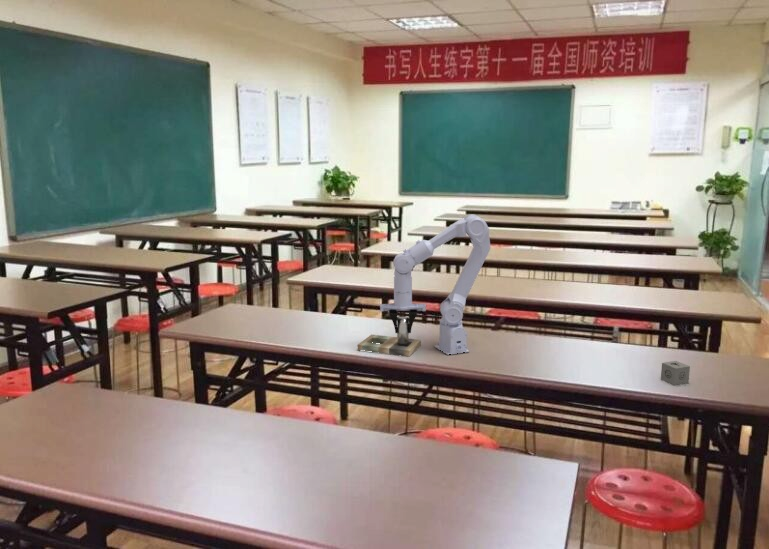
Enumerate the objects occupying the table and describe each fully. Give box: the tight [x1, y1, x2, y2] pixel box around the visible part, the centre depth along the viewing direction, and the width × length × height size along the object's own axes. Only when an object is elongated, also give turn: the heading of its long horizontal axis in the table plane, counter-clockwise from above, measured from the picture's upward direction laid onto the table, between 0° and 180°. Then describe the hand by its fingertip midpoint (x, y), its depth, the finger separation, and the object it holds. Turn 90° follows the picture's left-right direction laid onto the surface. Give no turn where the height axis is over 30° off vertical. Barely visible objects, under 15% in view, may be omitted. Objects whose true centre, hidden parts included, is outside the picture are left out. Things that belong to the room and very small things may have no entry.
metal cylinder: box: [396, 316, 410, 344], centre depth 201 cm, size 4×4×8 cm
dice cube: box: [660, 360, 691, 386], centre depth 174 cm, size 5×5×5 cm
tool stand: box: [357, 334, 422, 358], centre depth 204 cm, size 18×12×2 cm
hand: (402, 332), depth 201 cm, fingers closed on metal cylinder, 4 cm apart
